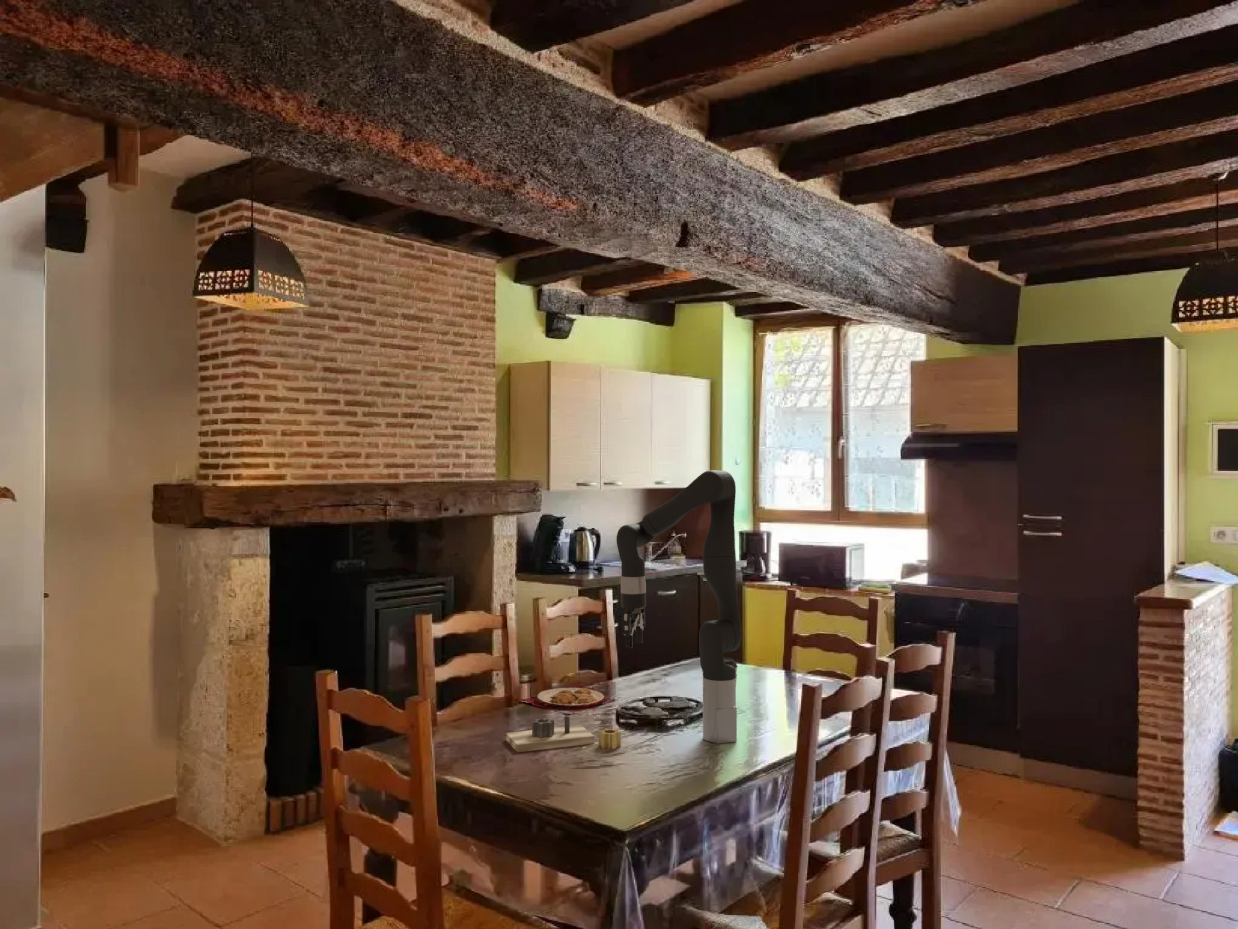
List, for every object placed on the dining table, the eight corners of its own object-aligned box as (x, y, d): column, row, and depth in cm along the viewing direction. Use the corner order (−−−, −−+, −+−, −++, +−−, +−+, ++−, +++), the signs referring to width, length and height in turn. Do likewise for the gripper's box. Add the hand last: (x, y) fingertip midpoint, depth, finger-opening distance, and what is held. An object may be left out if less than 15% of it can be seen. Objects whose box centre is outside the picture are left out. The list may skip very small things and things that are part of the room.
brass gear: (623, 748, 254) (623, 733, 254) (603, 750, 252) (603, 735, 252) (615, 742, 260) (615, 727, 260) (596, 744, 258) (596, 729, 258)
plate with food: (518, 704, 304) (518, 694, 304) (576, 688, 322) (576, 679, 322) (568, 719, 287) (568, 708, 287) (626, 702, 306) (625, 691, 305)
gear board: (594, 743, 259) (594, 719, 259) (517, 752, 251) (517, 728, 251) (580, 731, 270) (580, 709, 270) (506, 740, 262) (506, 717, 262)
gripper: (637, 594, 271) (637, 650, 271) (653, 588, 284) (653, 642, 284) (613, 593, 274) (613, 649, 274) (629, 588, 287) (630, 641, 287)
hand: (634, 645), depth 279 cm, fingers open, 8 cm apart
